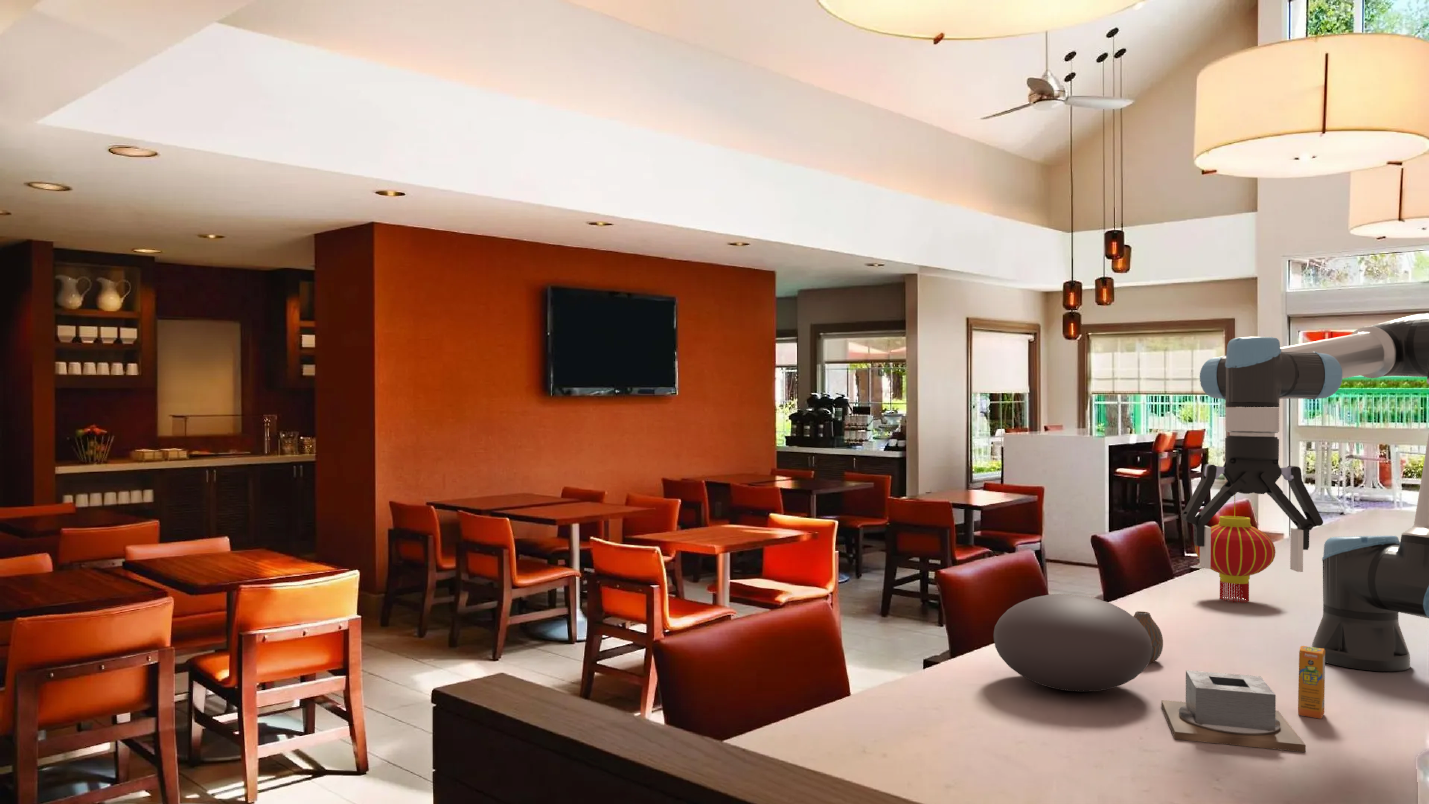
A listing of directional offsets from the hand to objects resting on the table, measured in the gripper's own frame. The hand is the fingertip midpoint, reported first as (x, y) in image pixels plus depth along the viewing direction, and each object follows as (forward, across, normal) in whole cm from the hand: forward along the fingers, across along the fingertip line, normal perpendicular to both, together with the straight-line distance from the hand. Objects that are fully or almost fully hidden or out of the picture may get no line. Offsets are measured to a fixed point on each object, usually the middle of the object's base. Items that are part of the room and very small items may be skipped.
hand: (1250, 569), depth 158 cm
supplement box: (+21, -6, +7) cm, 23 cm away
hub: (+21, +8, +15) cm, 27 cm away
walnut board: (+21, +8, +15) cm, 27 cm away
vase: (+21, +10, -23) cm, 33 cm away
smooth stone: (+21, +26, -3) cm, 34 cm away
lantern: (+20, -29, -89) cm, 96 cm away
